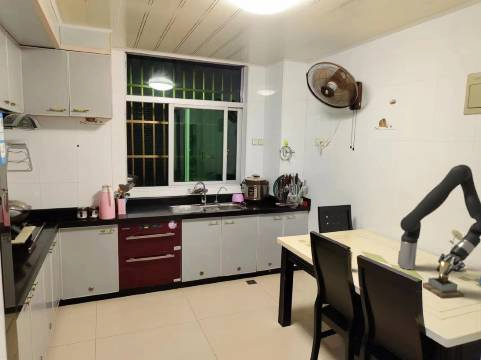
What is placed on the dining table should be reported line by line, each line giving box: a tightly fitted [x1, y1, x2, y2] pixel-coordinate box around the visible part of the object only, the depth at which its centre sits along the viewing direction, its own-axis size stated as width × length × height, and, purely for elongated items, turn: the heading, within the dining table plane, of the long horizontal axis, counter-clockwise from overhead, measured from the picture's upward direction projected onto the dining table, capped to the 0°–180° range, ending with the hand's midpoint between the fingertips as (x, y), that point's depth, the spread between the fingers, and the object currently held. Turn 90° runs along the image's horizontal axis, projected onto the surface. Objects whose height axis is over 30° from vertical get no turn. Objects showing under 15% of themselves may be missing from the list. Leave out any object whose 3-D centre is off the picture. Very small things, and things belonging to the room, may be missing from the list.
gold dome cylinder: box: [438, 260, 450, 281], centre depth 173 cm, size 4×4×10 cm
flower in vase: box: [448, 228, 465, 271], centre depth 206 cm, size 13×11×25 cm
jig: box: [422, 276, 465, 299], centre depth 174 cm, size 14×14×6 cm
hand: (441, 272), depth 172 cm, fingers closed on gold dome cylinder, 4 cm apart
